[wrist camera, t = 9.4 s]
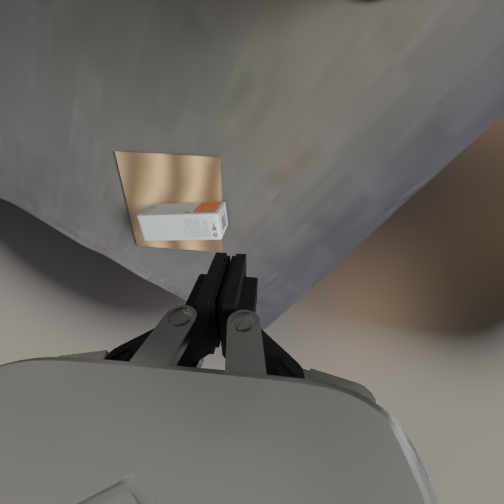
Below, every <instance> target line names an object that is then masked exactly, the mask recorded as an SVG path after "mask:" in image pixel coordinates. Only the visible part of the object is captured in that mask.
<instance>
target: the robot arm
mask: <svg viewBox="0 0 504 504" xmlns="http://www.w3.org/2000/svg"><path fill="white" fill-rule="evenodd" d="M257 284H258V278H253V277H246V254H236V256H232V259H231V262H230V256H227V254H226V253H216V254H215V257H214V259H213V261H212V264H211V266H210V268H209V270H208V273H207V274H200V275H199V277H198V279H197V281H196V283H195V286H194V288H193V290H192V292H191V294H190V296H189V298H188V300H187V302H186V304H185V305H181V306H177V307H174V308H172V309H170V310H169V311H168V312H167V313H166V314H165V315H164V317H163V318H162V319H161V321H160V322H159V323H158V325H157V326H156V327H155V328H154V329H152V330H150V331H148V332H146V333H145V334H142V335H140V336H138V337H137V338H134V339H132V340H130V341H129V342H127V343H125V344H123V345H121V346H119V347H117V348H115V349H114V350H112V351H111V352H110V353H108V351H107V350H104V351H96V352H88V353H79V354H72V355H63V356H59V357H43V358H42V357H41V358H33V359H25V360H19V361H15V362H11V363H6V364H3V365H0V504H442V503H441V501H440V499H439V497H438V494H437V492H436V490H435V488H434V486H433V483H432V481H431V480H430V477H429V475H428V473H427V471H426V469H425V467H424V465H423V462H422V460H421V459H420V457H419V455H418V453H417V451H416V449H415V447H414V445H413V444H412V442H411V440H410V438H409V437H408V435H407V434H406V432H405V430H404V429H403V427H402V426H401V425H400V423H399V422H398V421H397V420H396V419H395V417H394V416H393V415H391V414H390V413H389V412H388V411H387V410H386V409H384V408H383V407H381V406H380V405H379V404H377V403H376V400H375V398H374V396H373V395H372V393H371V392H370V391H369V390H368V389H367V388H366V387H364V386H362V385H361V384H358V383H356V382H352V381H349V380H346V379H343V378H340V377H336V376H333V375H330V374H327V373H323V372H320V371H317V370H314V369H310V371H309V370H305V369H302V367H301V366H300V365H299V364H298V363H297V362H296V361H295V360H294V359H293V358H292V357H291V356H290V355H289V354H288V353H287V352H285V350H283V349H282V348H281V347H280V346H279V345H278V344H277V343H276V342H275V341H273V339H271V337H269V336H268V335H267V334H266V333H265V332H264V331H263V330H262V329H261V325H260V319H259V317H258V315H257V314H256V313H255V312H256V302H257ZM220 342H221V346H222V354H223V356H224V357H225V358H226V363H225V370H215V369H205V368H201V366H202V364H203V361H204V357H205V356H207V355H208V354H214V350H215V347H219V345H220Z"/></svg>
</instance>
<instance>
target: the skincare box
mask: <svg viewBox="0 0 504 504" xmlns="http://www.w3.org/2000/svg"><path fill="white" fill-rule="evenodd" d="M137 218H138V222H139V225H140V228H141V231H142V234H143V237H144V240H145V241H179V240H221V239H222V237H223V235H224V232H225V230H226V228H227V226H228V219H227V211H226V203H225V202H194V203H165V204H154V205H153V206H151V207H149V208H148V209H146V210H145V211H143V212H141V213H140V214H138V215H137Z"/></svg>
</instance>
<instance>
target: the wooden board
mask: <svg viewBox="0 0 504 504" xmlns="http://www.w3.org/2000/svg"><path fill="white" fill-rule="evenodd" d="M115 155H116V159H117V163H118V167H119V172H120V176H121V180H122V184H123V189H124V193H125V197H126V202H127V206H128V210H129V214H130V219H131V223H132V227H133V232H134V236H135V240H136V244H137V246H148V247H161V248H173V249H186V250H199V251H212V252H223V237H222V239H221V240H179V241H145V240H144V237H143V234H142V231H141V228H140V225H139V222H138V218H137V215H138V214H140V213H141V212H143V211H145V210H146V209H148V208H149V207H151V206H153V205H154V204H165V203H194V202H222V167H221V157H212V156H195V155H178V154H162V153H145V152H128V151H115Z"/></svg>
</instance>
